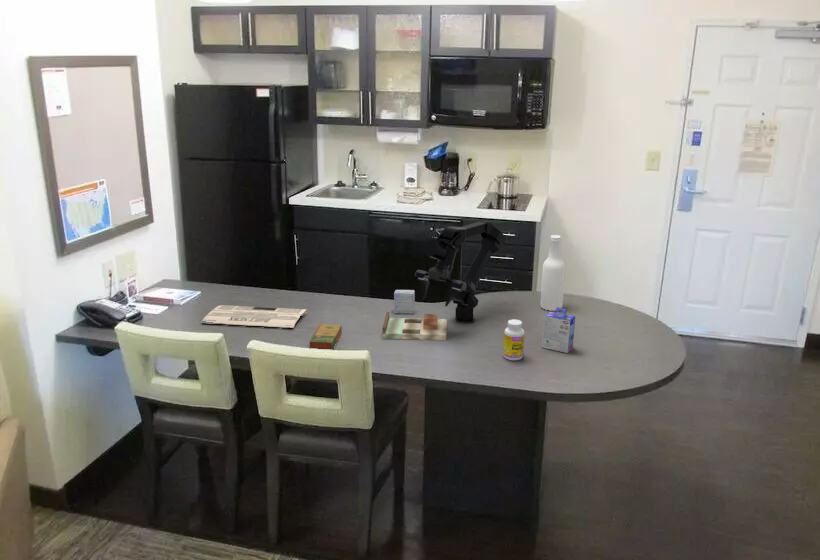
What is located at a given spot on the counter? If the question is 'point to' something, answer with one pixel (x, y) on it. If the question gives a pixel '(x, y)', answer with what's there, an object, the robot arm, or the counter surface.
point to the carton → (326, 336)
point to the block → (430, 321)
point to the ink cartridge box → (558, 331)
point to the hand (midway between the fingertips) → (434, 302)
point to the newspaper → (255, 316)
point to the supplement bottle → (513, 340)
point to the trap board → (412, 329)
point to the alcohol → (553, 277)
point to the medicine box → (404, 301)
